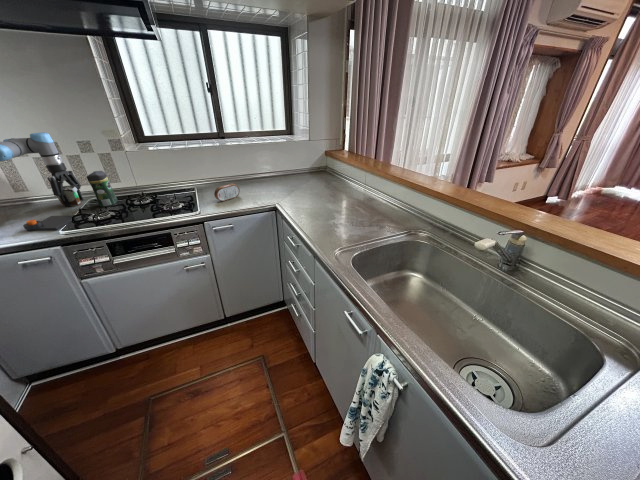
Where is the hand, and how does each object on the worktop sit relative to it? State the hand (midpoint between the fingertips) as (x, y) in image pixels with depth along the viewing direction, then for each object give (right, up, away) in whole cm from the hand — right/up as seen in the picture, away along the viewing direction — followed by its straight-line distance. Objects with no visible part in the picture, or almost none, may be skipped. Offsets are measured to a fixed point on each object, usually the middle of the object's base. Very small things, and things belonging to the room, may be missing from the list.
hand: (74, 202), depth 154 cm
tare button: (+7, -14, -29) cm, 33 cm away
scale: (+12, -14, -23) cm, 29 cm away
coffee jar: (+21, -1, -1) cm, 21 cm away
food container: (0, -1, 0) cm, 1 cm away
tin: (+89, +2, +3) cm, 89 cm away
